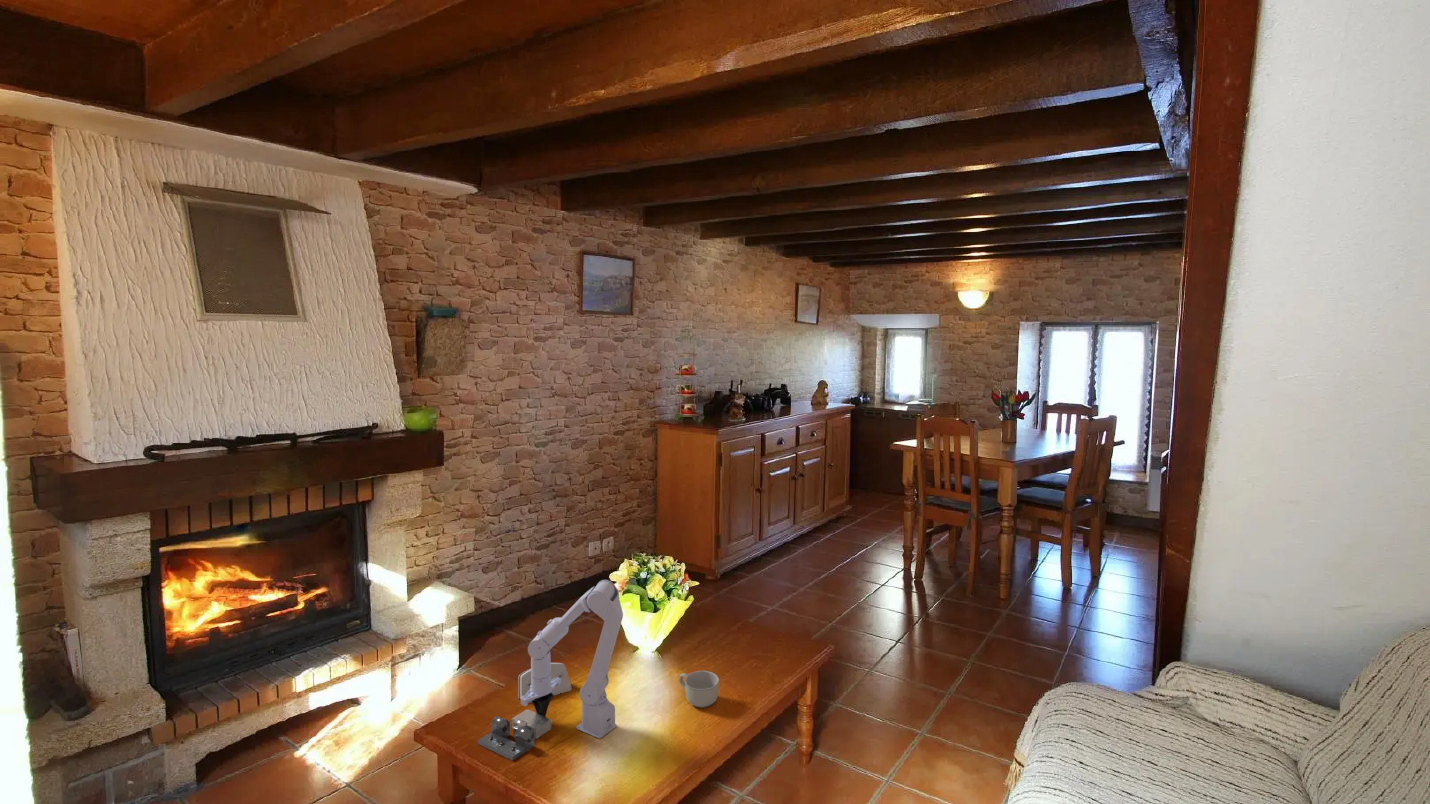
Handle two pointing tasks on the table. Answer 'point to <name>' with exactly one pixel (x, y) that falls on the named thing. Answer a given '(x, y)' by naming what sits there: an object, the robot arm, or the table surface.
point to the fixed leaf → (504, 746)
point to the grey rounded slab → (556, 672)
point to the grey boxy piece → (531, 722)
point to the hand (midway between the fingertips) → (541, 717)
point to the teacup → (700, 687)
